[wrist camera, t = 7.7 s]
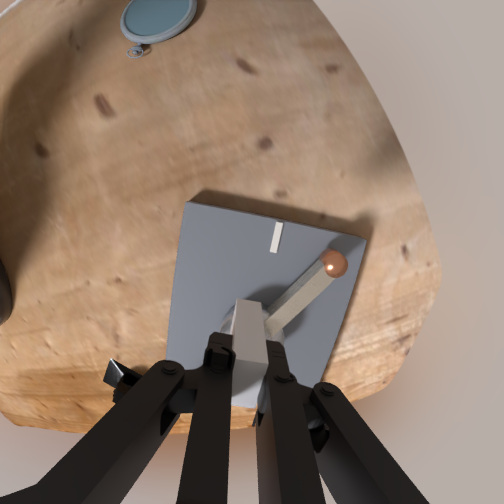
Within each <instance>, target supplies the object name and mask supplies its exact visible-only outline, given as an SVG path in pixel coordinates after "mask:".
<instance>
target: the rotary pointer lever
mask: <svg viewBox="0 0 504 504" xmlns="http://www.w3.org/2000/svg"><path fill="white" fill-rule="evenodd" d="M347 269H348V261H347V259H346V258H345V257H344V256H343V255H342V254H341V253H340V252H338V251H337V250H336V249H334V248H327V249H325V250H323V251H322V252H321V254H320V256H319V260H318V261H317V262H316V263H315V264H314V265H313V266H312V267H310V268H309V269H308V270H307V271H306V272H305V273H304V274H303V275H302V276H301V277H300V278H299V279H298V280H297V281H296V282H295V283H294V284H293V285H292V286H291V287H290V288H289V289H288V290H287V291H286V292H285V293H283V294H282V295H281V296H280V297H279V298H278V299H277V300H276V301H275V302H274V303H273V304H272V305H271V306H270V307H269V306H267V305H264V304H262V303H261V307H262V315H263V323H264V331H265V339H266V340H271V341H278V342H280V343H281V344H282V345H283V346H284V334H283V329H282V328H283V327H284V326H285V325H286V324H287V323H289V322H290V321H291V320H292V319H293V318H294V317H295V316H296V315H297V314H298V313H300V312H301V311H302V310H303V309H304V308H305V307H306V306H307V305H308V304H309V303H310V302H311V301H312V300H314V299H315V298H316V297H317V296H318V295H319V294H320V293H321V292H322V291H323V290H324V289H325V288H326V287H327V286H328V285H329V284H330V283H331V282H332V281H333V280H334V279H335V278H339V277H341V276H343V275H344V274H345V273H346V271H347ZM234 310H235V306H234V307H232V308H231V309H230V310H229V311H228V312H227V313H226V314H225V315H224V317H223V319H222V322H221V326H220V331H219V333H225V334H230V330H231V325H232V320H233V315H234Z"/></svg>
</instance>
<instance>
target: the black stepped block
mask: <svg viewBox="0 0 504 504" xmlns="http://www.w3.org/2000/svg"><path fill="white" fill-rule="evenodd" d="M142 377H143V376H142V375H140V374H138V373H136V372H134V371H133V370H131V369H129V368H127V367H125V366H124V365H122V364H120V363H118V362H117V361H115V360H113V359H110V361H109V364H108V367H107V370H106V373H105V376H104V379H103V381H104V382H105V383H107V384H109V385H110V386H112V387H114V388H116V389H114V391H113V392H114V394H113V397H114V398H113V402H114V403H117V402H118V401H119V400H120V399H121V398H122V397H123V396H124V395H125V394H126V393H127V392H128V391H129V390H130V389H131V388H132V387H133V386H134V385H135V384H136V383H137V382H138V381H139V380H140V379H141V378H142Z"/></svg>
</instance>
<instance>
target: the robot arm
mask: <svg viewBox="0 0 504 504" xmlns="http://www.w3.org/2000/svg"><path fill="white" fill-rule="evenodd" d="M11 308H12V297H11V290H10V285H9V281H8V278H7V274H6V272H5V269H4V267H3V265H2V262H1V261H0V325H1V324H3V323H4V322H6V321H7V320H8V318H9V316H10V313H11ZM256 404H258V408H257V411H256V415H255V418H254V421H253V424H252V426H253V427H254V426H255V423H256V445H257V466H258V467H257V468H258V491H259V504H326V502H325V497H324V493H323V488H322V484H321V480H320V475H321V476H322V478H323V480H324V482H325V484H326V486H327V487H328V489H329V491H330V493H331V495H332V496H333V498H334V500H335V502H336V503H337V504H429V502H428V501H427V500H426V499H425V497H424V496H423V495H422V494H421V492H420V491H419V490H418V489H417V487H416V486H415V485H414V484H413V482H412V481H411V480H410V479H409V477H408V476H407V475H406V474H405V472H404V471H403V470H402V469H401V467H400V466H399V465H398V463H397V462H396V461H395V460H394V458H393V457H392V456H391V455H390V453H389V452H388V451H387V450H386V448H385V447H384V446H383V444H382V443H381V442H380V441H379V439H378V438H377V437H376V436H375V434H374V433H373V432H372V430H371V429H370V428H369V427H368V425H367V424H366V423H365V421H364V420H363V419H362V418H361V417H360V415H359V414H358V412H357V411H356V410H355V409H354V407H353V406H352V405H351V403H350V402H349V401H348V399H347V398H346V397H345V396H344V394H343V393H342V392H341V390H340V389H339V388H338V387H337V386H335V385H333V384H331V383H327V382H319V383H316V384H315V385H314V387H313V388H311V387H307V386H304V385H301V384H299V383H298V382H297V379H296V377H295V375H293V374H292V373H291V372H290V370H289V366H288V361H287V357H286V352H285V348H284V346H283V345H282V344H281V343H280V342H278V341H271V340H266V339H265V331H264V323H263V315H262V307H261V302H256V301H250V300H244V299H239V298H237V300H236V305H235V310H234V315H233V320H232V325H231V330H230V334H225V333H219V332H213V333H212V334H211V335H210V336H209V340H208V345H207V348H206V349H205V353H204V359H203V365H202V366H200V367H199V368H196V369H190V370H185V369H184V367H183V366H182V365H181V364H180V363H178V362H176V361H172V360H161V361H158V362H157V363H155V364H154V365H153V366H152V367H151V368H150V369H149V370H148V371H147V372H146V373H145V374H144V375H143V377H142V378H141V379H140V380H139V381H138V382H137V383H136V384H135V385H134V386H133V387H132V388H131V389H130V390H129V391H128V392H127V393H126V394H125V395H124V396H123V397H122V398H121V399H120V400H119V401H118V402H117V403H116V404H115V405H114V406H113V407H112V408H111V409H110V410H109V411H108V412H107V413H106V414H105V415H104V416H103V417H102V418H101V419H100V420H99V421H98V422H97V423H96V424H95V425H94V427H93V428H92V429H91V430H90V431H89V432H88V433H87V434H86V435H85V436H84V437H83V438H82V439H81V440H80V441H79V442H78V443H77V444H76V445H75V446H74V447H73V448H72V449H71V450H70V451H69V452H68V453H67V454H66V455H65V456H64V457H63V458H62V459H61V460H60V461H59V462H58V463H57V464H56V465H55V466H54V467H53V468H52V469H51V470H50V471H49V472H48V473H47V474H46V475H45V476H44V477H43V478H42V479H41V480H40V481H39V482H38V483H37V484H35V485H33V486H30V487H28V488H25V489H23V490H20V491H17V492H14V493H11V494H9V495H6V496H3V497H0V504H120V503H121V502H122V500H123V499H124V497H125V496H126V494H127V493H128V492H129V490H130V489H131V488H132V486H133V485H134V483H135V482H136V480H137V479H138V477H139V476H140V474H141V473H142V472H143V470H144V469H145V467H146V466H147V464H148V463H149V461H150V460H151V458H152V457H153V456H154V454H155V452H156V451H157V449H158V448H159V446H160V445H161V443H162V442H163V441H164V439H165V438H166V436H167V435H168V433H169V432H170V430H171V429H172V427H173V426H174V424H175V423H176V421H177V420H178V418H179V417H180V414H181V413H193V415H192V420H191V425H190V431H189V436H188V441H187V446H186V452H185V457H184V463H183V468H182V474H181V479H180V485H179V491H178V497H177V502H176V504H227V493H228V466H229V441H230V420H231V405H233V406H240V407H248V408H255V407H256ZM327 426H328V427H327ZM319 473H320V475H319Z"/></svg>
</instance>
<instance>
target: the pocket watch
mask: <svg viewBox="0 0 504 504" xmlns="http://www.w3.org/2000/svg"><path fill="white" fill-rule="evenodd" d="M196 9H197V1H196V0H131V1H130V2H129V3H128V5H127V6H126V8H125V9H124V11H123V14H122V16H121V20H120V27H121V31H122V33H123V34H124V36H125V37H126V38H127V39H129V40H130V41H133V42H135V43H138V45H136V46H134V47H132V48H131V49H129V50H133V52H132V53H133V54H138V52H141V51H142V54H141V55H140V56H138V57H131V56H129V55H128V52H129V50H128V51H127V56H128V57H130V58H139V57H141V56H142V55H143V53H144V51H143V50H142V48H141V45H142V44H153V43H158V42H162V41H165V40H167V39H169V38H171V37H173V36H175V35H177V34H178V33H180V32H181V31H182V30H184V29H185V28H186V27H187V26H188V24H189V23H190V22H191V20H192V19H193V17H194V15H195V13H196Z"/></svg>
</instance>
